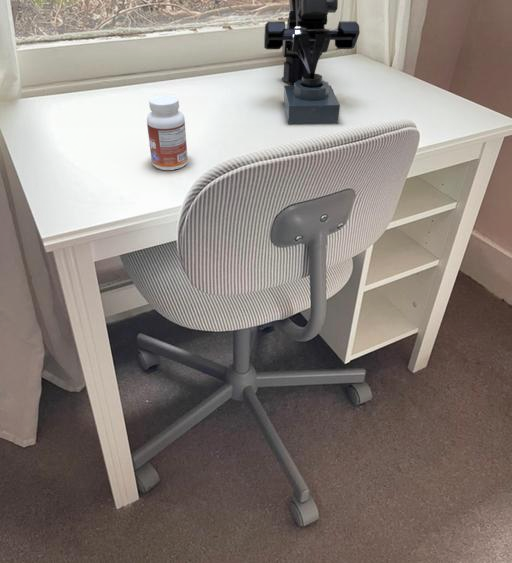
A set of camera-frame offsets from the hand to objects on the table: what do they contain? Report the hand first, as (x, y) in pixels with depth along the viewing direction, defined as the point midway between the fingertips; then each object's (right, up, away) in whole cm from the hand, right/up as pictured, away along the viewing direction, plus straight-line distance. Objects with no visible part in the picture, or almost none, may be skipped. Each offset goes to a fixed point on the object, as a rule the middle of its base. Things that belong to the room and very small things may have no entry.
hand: (312, 74), depth 107 cm
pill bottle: (-26, -21, -14) cm, 37 cm away
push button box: (0, -6, +5) cm, 8 cm away
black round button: (0, -2, +2) cm, 2 cm away
